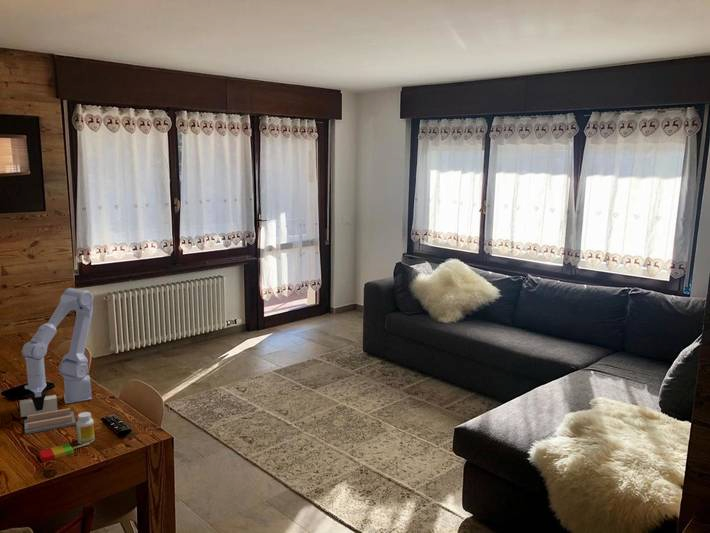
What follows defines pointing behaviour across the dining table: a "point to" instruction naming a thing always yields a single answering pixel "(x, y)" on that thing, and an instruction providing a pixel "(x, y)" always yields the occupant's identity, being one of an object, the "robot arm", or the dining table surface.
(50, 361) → the dining table surface
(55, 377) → the dining table surface
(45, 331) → the robot arm
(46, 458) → the popsicle
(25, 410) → the beige rectangular block
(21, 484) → the dining table surface
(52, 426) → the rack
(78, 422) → the supplement bottle
